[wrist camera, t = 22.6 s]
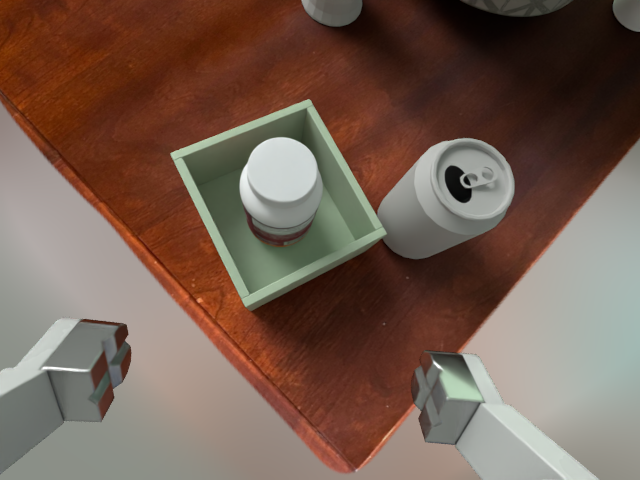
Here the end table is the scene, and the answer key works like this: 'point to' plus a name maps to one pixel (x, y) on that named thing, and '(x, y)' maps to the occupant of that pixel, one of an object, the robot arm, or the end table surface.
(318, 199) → the pill bottle
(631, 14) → the cup
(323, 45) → the end table surface
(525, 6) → the planter
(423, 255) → the can
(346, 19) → the grey tall flared cylinder
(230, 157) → the bin
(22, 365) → the robot arm
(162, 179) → the end table surface
